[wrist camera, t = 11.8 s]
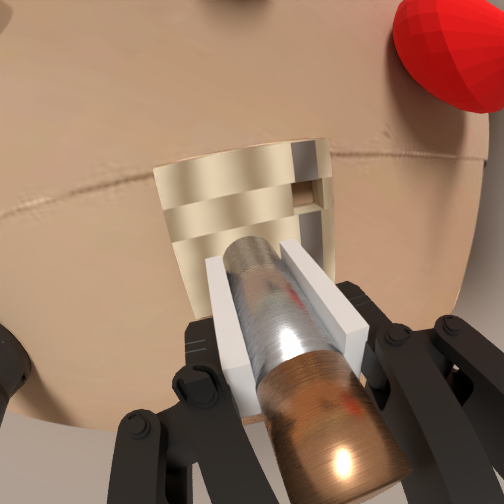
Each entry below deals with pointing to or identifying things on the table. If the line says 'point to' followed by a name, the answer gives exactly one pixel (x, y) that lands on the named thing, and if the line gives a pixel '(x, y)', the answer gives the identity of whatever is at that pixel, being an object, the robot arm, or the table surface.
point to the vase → (454, 50)
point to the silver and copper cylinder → (308, 388)
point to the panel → (246, 206)
